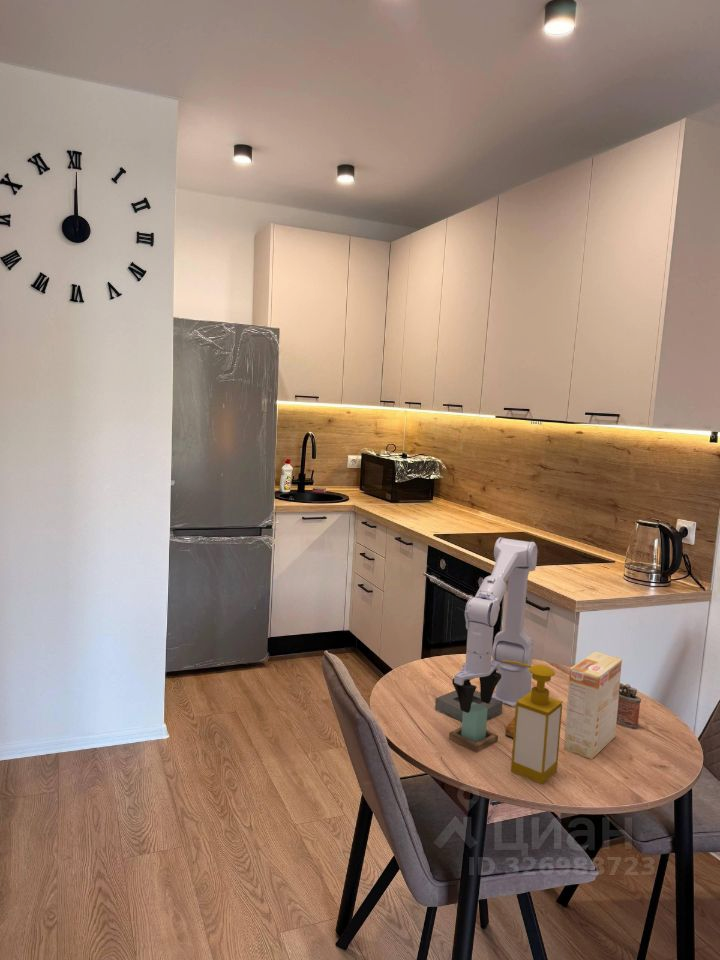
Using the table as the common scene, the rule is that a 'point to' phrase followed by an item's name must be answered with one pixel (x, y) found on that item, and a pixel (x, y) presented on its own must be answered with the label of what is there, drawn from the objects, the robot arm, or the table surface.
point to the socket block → (452, 708)
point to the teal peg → (474, 723)
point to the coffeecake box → (592, 704)
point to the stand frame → (476, 747)
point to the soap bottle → (536, 729)
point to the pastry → (510, 728)
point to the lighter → (628, 707)
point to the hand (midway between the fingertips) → (475, 706)
